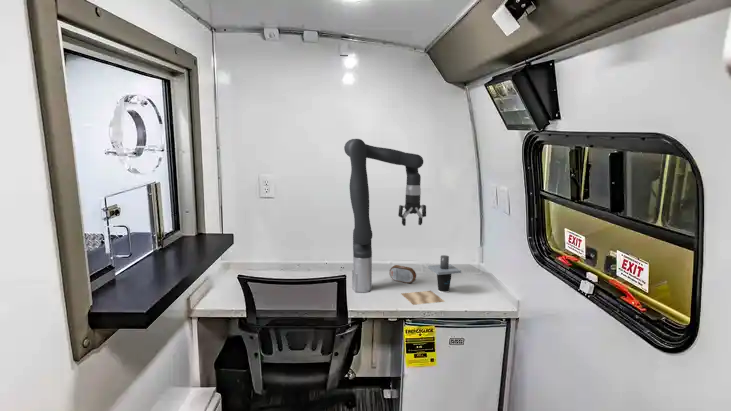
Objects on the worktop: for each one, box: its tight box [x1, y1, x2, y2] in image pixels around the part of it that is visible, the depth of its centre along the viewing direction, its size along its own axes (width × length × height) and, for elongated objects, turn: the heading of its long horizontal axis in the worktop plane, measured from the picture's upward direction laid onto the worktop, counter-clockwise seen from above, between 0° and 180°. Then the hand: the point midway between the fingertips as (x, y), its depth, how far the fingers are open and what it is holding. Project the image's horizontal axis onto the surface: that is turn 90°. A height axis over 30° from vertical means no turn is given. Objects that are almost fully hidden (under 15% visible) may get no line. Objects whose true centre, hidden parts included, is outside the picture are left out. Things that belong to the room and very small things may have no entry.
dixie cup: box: [436, 274, 452, 294], centre depth 231 cm, size 8×8×11 cm
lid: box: [427, 254, 462, 275], centre depth 229 cm, size 12×12×7 cm
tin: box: [389, 264, 417, 284], centre depth 247 cm, size 15×3×8 cm, turn 58°
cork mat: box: [400, 290, 446, 306], centre depth 222 cm, size 16×16×1 cm
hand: (411, 225), depth 238 cm, fingers open, 8 cm apart
